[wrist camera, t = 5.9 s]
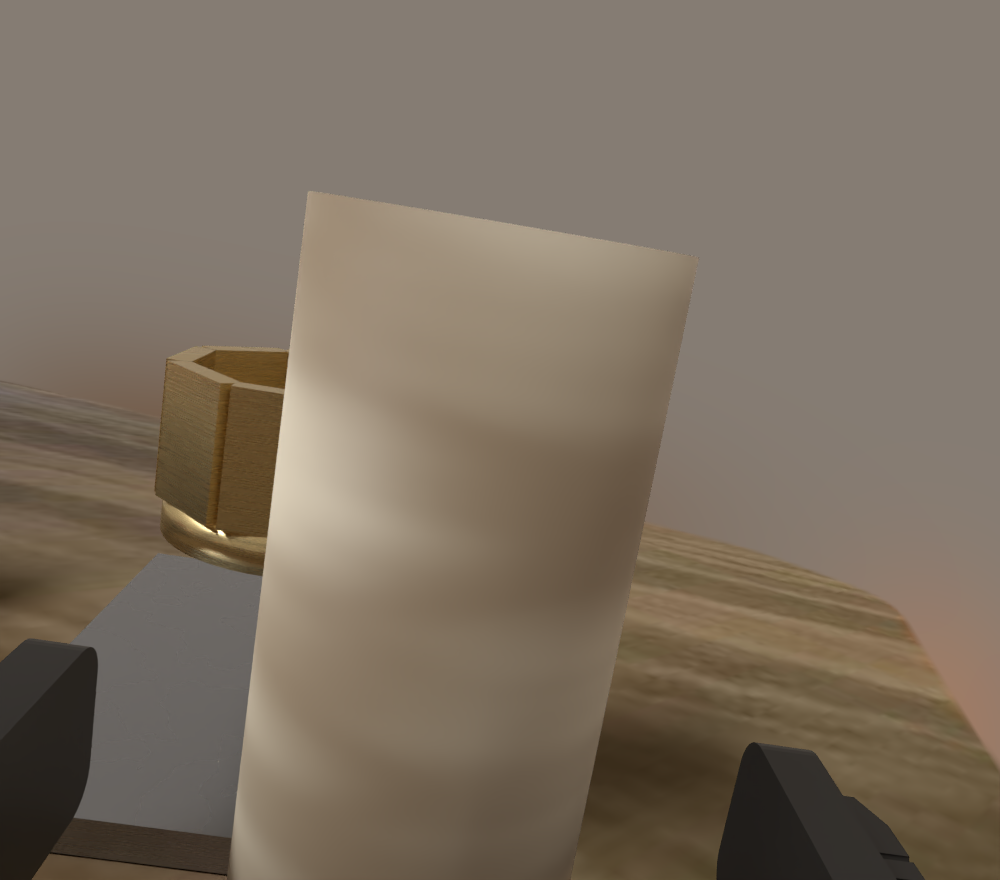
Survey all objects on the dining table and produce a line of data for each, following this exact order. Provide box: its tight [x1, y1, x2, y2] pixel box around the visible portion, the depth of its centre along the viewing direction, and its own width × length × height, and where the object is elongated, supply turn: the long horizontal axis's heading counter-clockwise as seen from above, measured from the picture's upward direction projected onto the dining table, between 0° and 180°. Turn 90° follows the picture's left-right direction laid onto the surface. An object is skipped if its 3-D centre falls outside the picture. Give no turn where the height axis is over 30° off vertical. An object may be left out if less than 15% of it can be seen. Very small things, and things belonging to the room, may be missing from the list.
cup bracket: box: [51, 346, 290, 874], centre depth 30 cm, size 17×14×12 cm
